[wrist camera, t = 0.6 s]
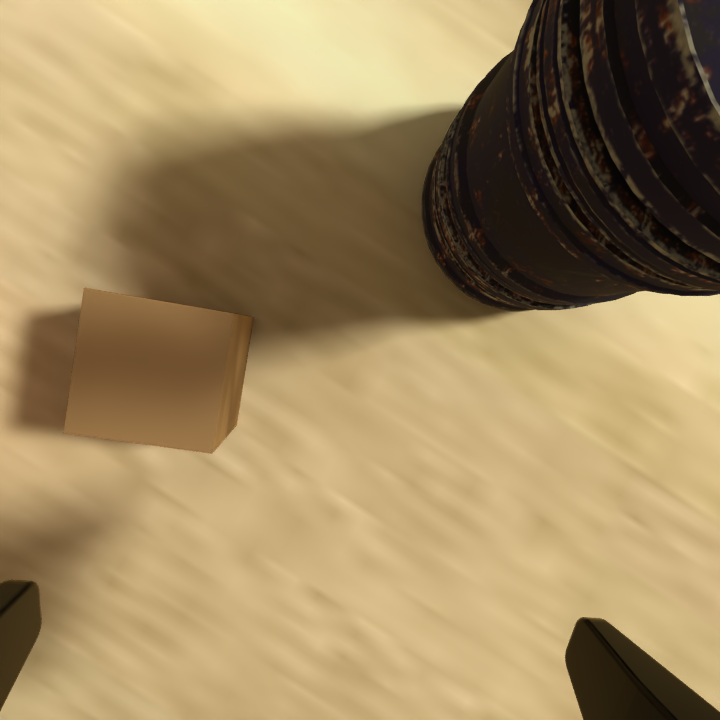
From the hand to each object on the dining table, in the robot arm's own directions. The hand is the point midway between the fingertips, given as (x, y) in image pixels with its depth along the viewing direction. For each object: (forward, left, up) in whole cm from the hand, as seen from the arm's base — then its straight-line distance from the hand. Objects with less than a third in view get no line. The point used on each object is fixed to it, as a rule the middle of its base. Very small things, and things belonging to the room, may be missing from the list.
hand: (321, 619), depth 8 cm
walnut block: (+1, +7, -14) cm, 15 cm away
